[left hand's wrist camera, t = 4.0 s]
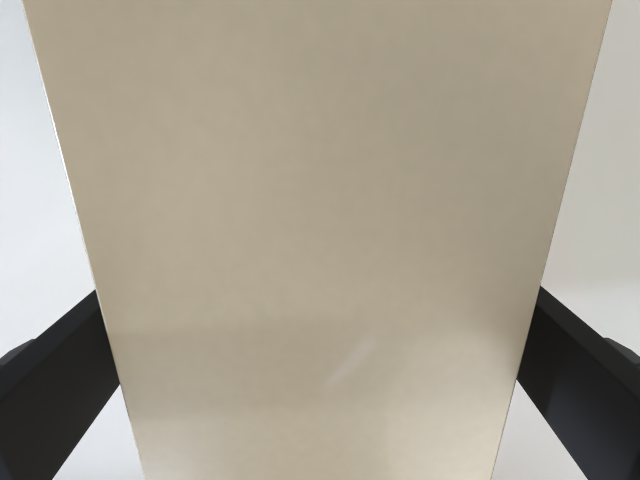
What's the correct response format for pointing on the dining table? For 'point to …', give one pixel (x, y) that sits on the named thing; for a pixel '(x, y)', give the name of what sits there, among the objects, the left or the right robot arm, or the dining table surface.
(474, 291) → the cabinet
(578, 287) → the dining table surface
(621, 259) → the dining table surface
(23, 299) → the dining table surface
